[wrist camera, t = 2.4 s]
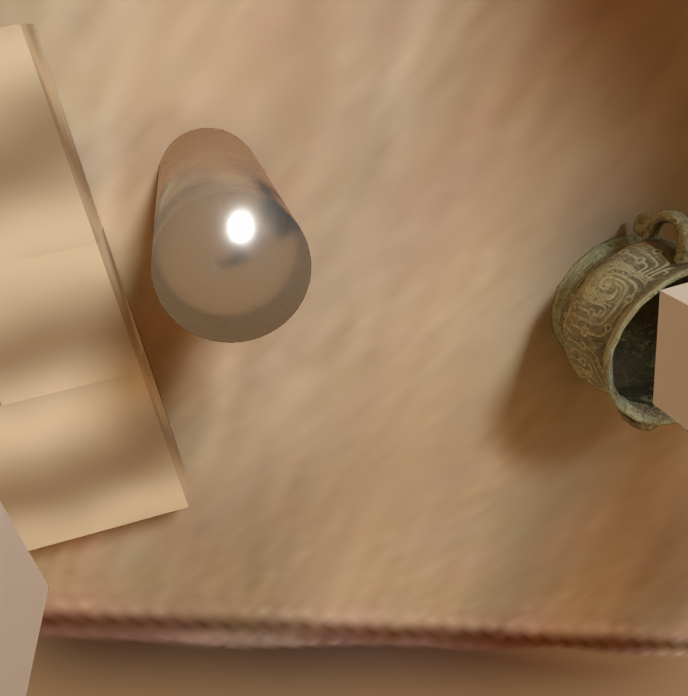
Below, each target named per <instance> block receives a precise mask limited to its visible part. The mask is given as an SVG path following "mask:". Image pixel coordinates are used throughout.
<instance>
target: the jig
mask: <svg viewBox="0 0 688 696" xmlns="http://www.w3.org/2000/svg"><path fill="white" fill-rule="evenodd" d="M0 501H1V503H2V505H3V507H4V508H5V510H6V512H7V514H8V516H9V517H10V519H11V521H12V523H13V525H14V526H15V528H16V530H17V532H18V533H19V535H20V537H21V539H22V541H23V542H24V544H25V546H26V548H27V550H28V551H31V550H34V549H38V548H42V547H45V546H49V545H53V544H56V543H60V542H63V541H67V540H71V539H74V538H78V537H82V536H85V535H89V534H93V533H96V532H100V531H103V530H107V529H111V528H114V527H118V526H122V525H125V524H129V523H133V522H136V521H140V520H144V519H147V518H151V517H154V516H158V515H162V514H165V513H169V512H173V511H176V510H180V509H184V508H187V507H189V506H188V478H187V474H186V471H185V468H184V465H183V462H182V459H181V457H180V454H179V451H178V448H177V445H176V442H175V439H174V436H173V433H172V430H171V427H170V424H169V421H168V418H167V415H166V412H165V409H164V407H163V404H162V401H161V398H160V395H159V392H158V389H157V386H156V383H155V380H154V377H153V374H152V371H151V368H150V365H149V362H148V360H147V357H146V354H145V351H144V348H143V345H142V342H141V339H140V336H139V333H138V330H137V327H136V324H135V321H134V318H133V315H132V312H131V310H130V307H129V304H128V301H127V298H126V295H125V292H124V289H123V286H122V283H121V280H120V277H119V274H118V271H117V268H116V265H115V262H114V260H113V257H112V254H111V251H110V248H109V245H108V242H107V239H106V236H105V233H104V230H103V227H102V224H101V221H100V218H99V215H98V212H97V210H96V207H95V204H94V201H93V198H92V195H91V192H90V189H89V186H88V183H87V180H86V177H85V174H84V171H83V168H82V165H81V162H80V160H79V157H78V154H77V151H76V148H75V145H74V142H73V139H72V136H71V133H70V130H69V127H68V124H67V121H66V118H65V115H64V113H63V110H62V107H61V104H60V101H59V98H58V95H57V92H56V89H55V86H54V83H53V80H52V77H51V74H50V71H49V68H48V65H47V63H46V60H45V57H44V54H43V51H42V48H41V45H40V42H39V39H38V36H37V33H36V30H35V27H34V24H17V25H11V26H5V27H0Z"/></svg>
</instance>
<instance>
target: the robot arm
mask: <svg viewBox="0 0 688 696" xmlns="http://www.w3.org/2000/svg"><path fill="white" fill-rule="evenodd" d="M653 404H654V405H655V406H657V407H658V408H659V409H661V410H662V411H663V412H664V413H666V414H667V415H668V416H670V417H671V418H672V419H673V420H675V421H676V422H677V423H679V424H680V425H681V426H682V427H684V428H685V429H686V430H688V283H684V284H681V285H677V286H673V287H670V288H666V289H663V290H660V297H659V313H658V329H657V345H656V360H655V376H654V392H653ZM48 588H49V587H48V585H47V584H46V582H45V580H44V578H43V577H42V575H41V573H40V571H39V569H38V568H37V566H36V564H35V562H34V560H33V559H32V557H31V555H30V553H29V551H28V550H27V548H26V546H25V544H24V542H23V541H22V539H21V537H20V535H19V533H18V532H17V530H16V528H15V526H14V525H13V523H12V521H11V519H10V517H9V516H8V514H7V512H6V510H5V508H4V507H3V505H2V503H1V501H0V696H26V693H27V688H28V684H29V679H30V674H31V670H32V665H33V660H34V654H35V650H36V646H37V641H38V636H39V631H40V627H41V622H42V617H43V612H44V607H45V603H46V598H47V593H48Z"/></svg>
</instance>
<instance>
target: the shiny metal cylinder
mask: <svg viewBox="0 0 688 696" xmlns="http://www.w3.org/2000/svg"><path fill="white" fill-rule="evenodd" d="M151 276H152V282H153V286H154V290H155V293H156V295H157V298H158V300H159V301H160V303H161V305H162V307H163V308H164V309H165V311H166V312H167V313H168V315H169V316H170V317H171V318H172V319H173V320H174V321H175V322H176V323H177V324H179V325H180V326H181V327H183V328H184V329H186V330H187V331H189V332H191V333H192V334H195V335H197V336H199V337H201V338H205V339H208V340H212V341H217V342H228V343H233V342H244V341H249V340H253V339H256V338H260V337H262V336H264V335H267V334H269V333H271V332H272V331H274V330H276V329H277V328H279V327H280V326H281V325H283V324H284V323H285V322H286V321H287V320H288V319H289V318H290V317H291V316H292V315H293V314H294V313H295V312H296V310H297V309H298V308H299V306H300V304H301V303H302V301H303V299H304V297H305V295H306V292H307V289H308V286H309V283H310V276H311V257H310V251H309V247H308V244H307V241H306V239H305V236H304V234H303V232H302V231H301V229H300V227H299V226H298V224H297V222H296V221H295V219H294V218H293V216H292V214H291V213H290V211H289V210H288V208H287V207H286V205H285V203H284V202H283V200H282V199H281V197H280V195H279V194H278V192H277V191H276V189H275V188H274V186H273V184H272V183H271V181H270V180H269V178H268V176H267V175H266V173H265V172H264V170H263V169H262V167H261V165H260V164H259V162H258V161H257V159H256V157H255V156H254V154H253V153H252V151H251V150H250V149H249V147H248V146H247V145H246V144H245V143H244V142H243V141H242V140H240V139H239V138H238V137H236V136H235V135H233V134H231V133H229V132H226V131H224V130H220V129H215V128H200V129H195V130H192V131H189V132H187V133H184V134H183V135H181V136H179V137H178V138H177V139H176V140H174V141H173V142H172V143H171V144H170V146H169V147H168V148H167V150H166V151H165V153H164V155H163V157H162V159H161V162H160V166H159V173H158V185H157V197H156V209H155V221H154V233H153V245H152V257H151Z"/></svg>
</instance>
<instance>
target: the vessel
mask: <svg viewBox="0 0 688 696" xmlns="http://www.w3.org/2000/svg"><path fill="white" fill-rule="evenodd" d="M665 223H671V225H672V226H673V227H674V229H675V231H676V233H677V235H678V239H677V241H674V240H670V239H663V238H662V237H661V232H662V228H663V226H664V224H665ZM634 232H635V233H636V234H637V235H639V236H641V237H639V236H623V237H618V238H615V239H612V240H609V241H606V242H603V243H601V244H600V245H598V246H596V247H594V248H592V249H591V250H590V251H589V252H588V253H586V254H585V255H584V256H583V257H582V258H581V259H580V260H578V261H577V262H576V263H575V264H574V265H573V266H572V267H571V269H570V270H569V271H568V273H567V274H566V276H565V277H564V279H563V280H562V281H561V283H560V284H559V286H558V288H557V291H556V294H555V298H554V301H553V304H552V307H551V317H552V327H553V331H554V333H555V335H556V337H557V339H558V340H559V342H560V344H561V346H562V347H563V348H565V353H566V356H567V358H568V360H569V362H570V363H571V365H572V367H573V369H574V370H575V372H576V374H577V375H578V376H579V377H580V378H581V379H583V380H584V381H586V382H587V383H589V384H590V385H592V386H594V387H595V388H597V389H598V390H600V391H602V392H604V393H605V394H608V395H609V396H610V397H611V399H612V401H613V403H614V404H615V406H616V408H617V409H618V411H619V413H620V415H621V416H622V418H623V419H624V420H625V421H626V422H627V423H629V424H630V425H631V426H633V427H635V428H638V429H640V430H646V431H651V430H653V429H655V428H656V427H658V426H659V425H668V424H673V423H677V422H676V421H675V420H673V419H672V418H671V417H670V416H668V415H667V414H666V413H664V412H663V411H662V410H661V409H659V408H658V407H657V406H655V405H654V404H653V392H654V376H655V360H656V345H657V329H658V313H659V297H660V290H663V289H666V288H670V287H673V286H677V285H681V284H684V283H688V217H687V216H686V215H684V214H683V213H681V212H679V211H675V210H661V211H659V212H658V213H656V214H655V215H653V216H650V215H648V214H646V213H641V214H639V215H638V216H637V217H636V220H635V223H634Z"/></svg>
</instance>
